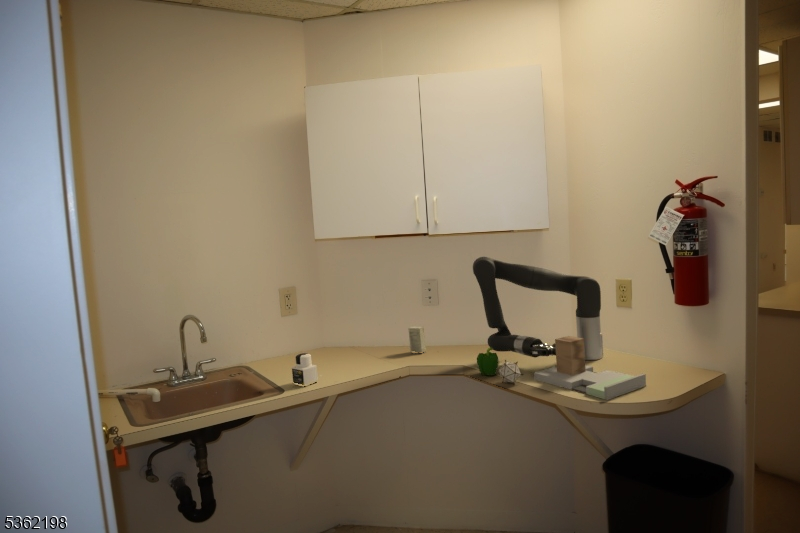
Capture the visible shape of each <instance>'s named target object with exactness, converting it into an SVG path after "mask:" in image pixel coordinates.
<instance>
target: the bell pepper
mask: <svg viewBox="0 0 800 533" xmlns="http://www.w3.org/2000/svg"><path fill="white" fill-rule="evenodd" d="M490 351H493V348H490V347H488V348H487V350H486V352H485V353H484V352H479V353H478V355H477V357H476V364H477V369H478V370H479V372H480V374H481V375H485V376H494V375H496V373H497V372H498V371H497V369H498V366H499V356H498V354H497V352H490Z"/></svg>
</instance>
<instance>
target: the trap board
mask: <svg viewBox="0 0 800 533" xmlns="http://www.w3.org/2000/svg"><path fill="white" fill-rule="evenodd" d="M585 368H586V372H582V373H579V374H576V375H573V376H572V375H568V374H564V373H560V372H557V365H556V366H552V367H549V368H548V367H547V368H545V369H542V370H539V371H535V372H534V373H533V377H534V378H533V380H534V381H539V382H543V383H547V384H548V385H549V384H550V385H554V386H556V387H560V388H563V387H564V389H567V388H568V389H567V390H572V391H574V390H575V392H578V393H581V394H586V395H589V396H592V397H597V398H600V399H603V400H606V401H609V400H612V399H614V398H617V397H620V396H622V395H625V394H629V393H630V392H633V391H636V390H639V389H642V388H645V387H647V379H646V378H647V377H646V376H647V375H646V374H645V373H640V374H638V375H632V374H629V373H628V374H626V373H622V372H618V371H614V370H610V369H606V370H603V371H599V372H596V371H594V366H592V365H588V364H587V365H586V364H585Z"/></svg>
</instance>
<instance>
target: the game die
mask: <svg viewBox="0 0 800 533" xmlns="http://www.w3.org/2000/svg"><path fill="white" fill-rule="evenodd" d="M518 362H519V361H518V360H517V361H516V362H509V361H507V360H506V359H504V363H503V364H502V365H501V367H499V369H498V368H497V371H496V372H498V373H499V375H500V377H501V380H502V381H501V383H502V384H503V383H504V382H506V383H511V384H513V385H514V386H515V385H516V384H515V383H516V381H517V380H519V378H520V376H524V373H521V370H520V367H519V366H518Z"/></svg>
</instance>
